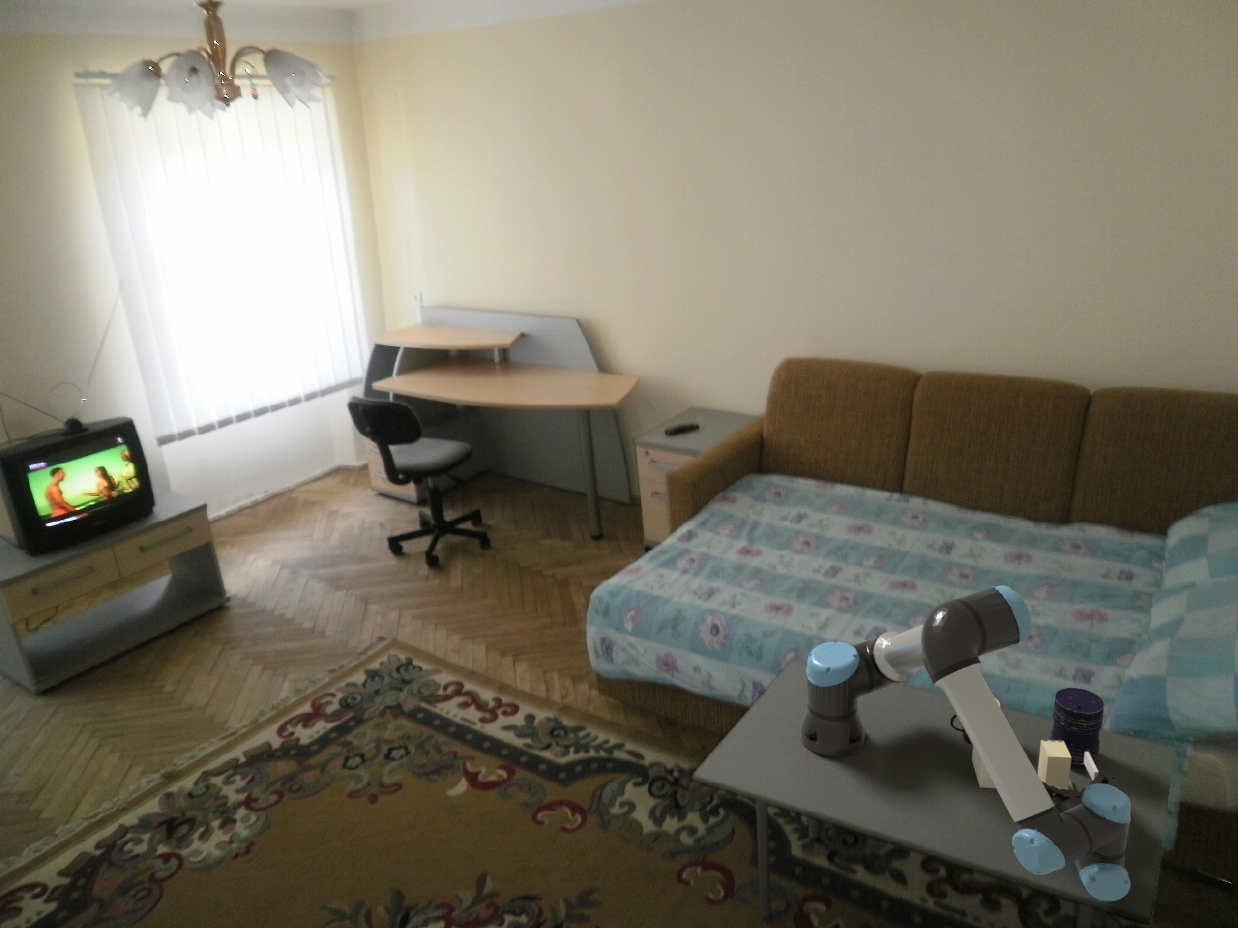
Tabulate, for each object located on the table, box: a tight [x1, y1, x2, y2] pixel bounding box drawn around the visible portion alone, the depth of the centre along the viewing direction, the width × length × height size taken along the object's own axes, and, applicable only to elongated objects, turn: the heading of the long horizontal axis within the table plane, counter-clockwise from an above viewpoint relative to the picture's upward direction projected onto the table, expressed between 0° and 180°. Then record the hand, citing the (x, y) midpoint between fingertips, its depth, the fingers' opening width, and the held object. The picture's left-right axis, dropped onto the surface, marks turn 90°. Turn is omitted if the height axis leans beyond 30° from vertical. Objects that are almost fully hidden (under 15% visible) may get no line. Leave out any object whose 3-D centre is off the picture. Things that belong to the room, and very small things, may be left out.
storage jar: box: [1050, 687, 1105, 772], centre depth 199 cm, size 10×10×15 cm
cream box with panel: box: [971, 745, 996, 789], centre depth 196 cm, size 4×9×11 cm, turn 170°
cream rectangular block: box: [1037, 738, 1071, 795], centre depth 189 cm, size 4×6×11 cm
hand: (1051, 755), depth 190 cm, fingers open, 13 cm apart
